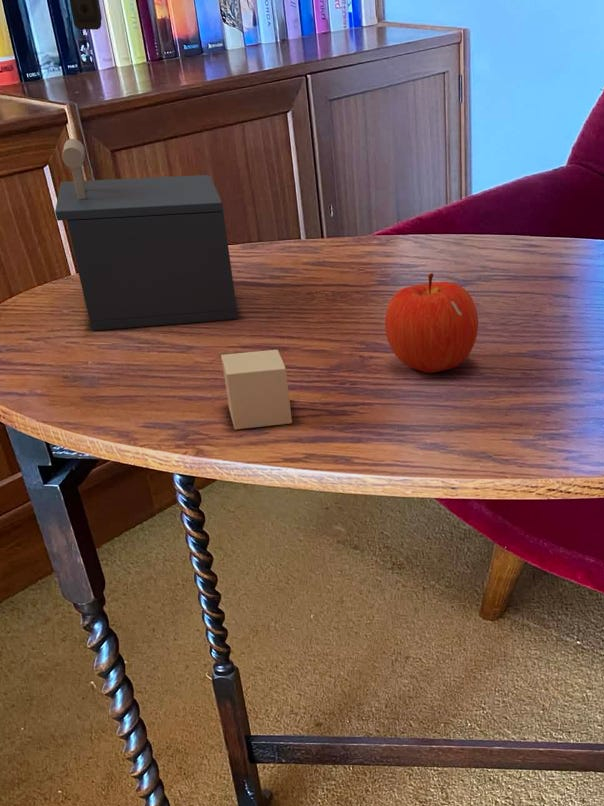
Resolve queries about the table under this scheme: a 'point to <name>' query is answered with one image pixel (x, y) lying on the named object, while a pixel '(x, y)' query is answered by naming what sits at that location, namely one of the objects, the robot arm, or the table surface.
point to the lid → (130, 193)
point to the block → (256, 389)
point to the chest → (154, 269)
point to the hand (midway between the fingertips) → (89, 26)
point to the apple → (432, 325)
